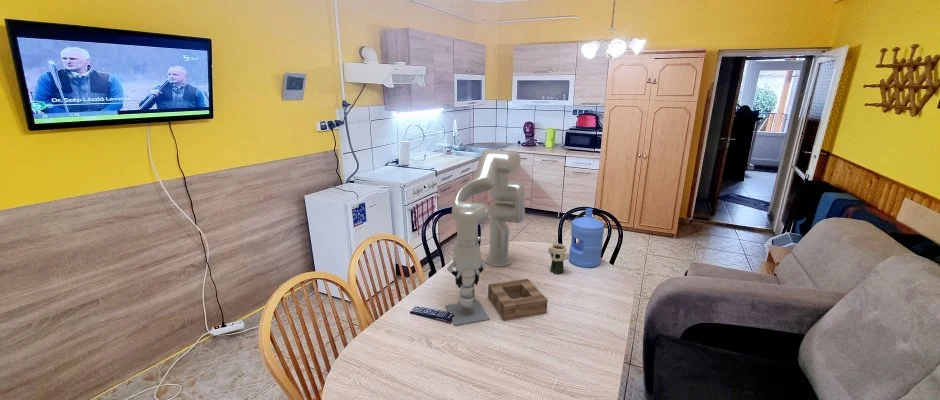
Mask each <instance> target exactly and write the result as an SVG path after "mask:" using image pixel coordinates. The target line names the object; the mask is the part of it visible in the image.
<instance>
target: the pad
mask: <svg viewBox="0 0 940 400" xmlns="http://www.w3.org/2000/svg"><path fill="white" fill-rule="evenodd" d="M445 310H446V312H447V313H448V312H452V313H453V314H454V317H453V318H452V320H451V322H452V324H453V326H454V327H458V326H462V325H463V326H464V325H468V324H475V323H481V322H487V321H490V320H491V319H490V318H491V317H490V316H489V314H488V313H487V311H486V309H485V308H484V307H483V306H482V304H481V302H480V301H479V300H478V299H476V303H475V306H474V307H473V308H471V309H464V308H462V307H461V306H460V305H459V302H458V303H452V304H446V305H445Z"/></svg>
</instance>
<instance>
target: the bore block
mask: <svg viewBox="0 0 940 400" xmlns="http://www.w3.org/2000/svg"><path fill="white" fill-rule="evenodd" d="M487 299H489V301H490V303H492V305H493V307H494V308H495V310H496V311H497V313H498V314H499V315H500V317H501V318H502V319H503V321H504V322H505V321H510V320H516V319H521V318H522V319H523V318H526V317H533V316H537V315H543V314H547V312H548V298H547V297H546V296H545V295H544V294H543V293H542V292H541V291H540V290H539V289H538V288H537V287H536V286H535V285H534V284H533V282H532V281H531V280H530V279H529V278H522V279H517V280H510V281H504V282H496V283H489V284H487Z"/></svg>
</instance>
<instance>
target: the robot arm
mask: <svg viewBox="0 0 940 400" xmlns="http://www.w3.org/2000/svg"><path fill="white" fill-rule="evenodd" d="M479 157H480V158H479V160H478V162H477V166H476V169H475V173H474V176H473V179H471V180H470V181H469V182H467V183H465V185H464V184H463V186H462V187H461V188H460V189H459V190H458V192H457V193H456V196H455V198H454V200H453V203H452V207H451V216H452V218H453V219H454V220H456V222H457V223H456V225H457V226H456V229H457V230H456V231H457V235H456V237H457V238H456V240H457V243H455V245H454V249H453V255H452V256H453V257H452V262H451V263H450V265H448V266H447V268H446V269H447V271H448V272H449V273H450V274H452V275H453V276H454V278H455V285H456V286H457V287H458V289H460V287H461V278H460V274H461V272H462V271H466V270H468V269H472V270H475V271H476V276H475V284H474V286H475V285H476V286H478V285H479V281H480V275H481V273H482V272H483V271H484V269H486V267H487V266H488V265H489V266H492V267H494V268H503V267H504V268H505V267H507V266H509V265H511V263H512V259H511V258H510V257H509V246H510V245H509V242H510V229H509V228H510V227H509V225H508V224H507V223H514V224H515V223H516V224H520V223H522V222H523V221H524V219H525V214H526V213H525V211H526V209H525V208H526V207H525V205H526V203H525V201H526V199H525V198H526V191H525V187H524V184H523V183H521V182H518V181H510V179H509V178H510V177H509V174H512V173H514V172H516V171H518V170H519V167H520V165H521V161H522V160H521V155H520V153H519V152H518V151H517V150H506V149H505V150H503V149H485V150H483V151H482V153H481V155H480V156H479ZM489 190H490V195H491V198H492V199H493V200H495V201H492V202H491V203H490V204H489V205H487V204H485V203H480V202H479V203H478V202H472V201H467V199H469V198H471V197H472V196H475V195H479V194H482V193H485V192H489ZM488 219H489V246H488V247H489V251H488V252H489V253H488V254H489V256H487V257H486V259H485V261H484V260H483V259H482V255H481V252H482V251H481V247H480V243H479V241H482V237H481V236H479V235H478V233H479V230H478V229H479V225H482V224H484V223H485V222H487V220H488ZM454 268H455V270H454Z"/></svg>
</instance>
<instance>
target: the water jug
mask: <svg viewBox="0 0 940 400" xmlns="http://www.w3.org/2000/svg"><path fill="white" fill-rule="evenodd" d="M593 210H594V209H593V208H590V207H585V214H584V215H585V216H582V217H581V216H580V217H577V218H575V219H573V220H572V221H571V227H570V235H571V238H570V240H571V242H570V246H569V253H568V254H569V255H568V260H569V262H570V263H571V264H572V265H573V266H574V265H575V266H577V267H580V268H586V267H587V269H589V267H591V268H596V267H598V266H599V265H600V264H601V262H602V257H601V256H602V250H603V239H604V233H605V224H604V222H602V221H601V220H599V219H597V218H595V217H593ZM576 239H577V240H578V241H577V242H576Z"/></svg>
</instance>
